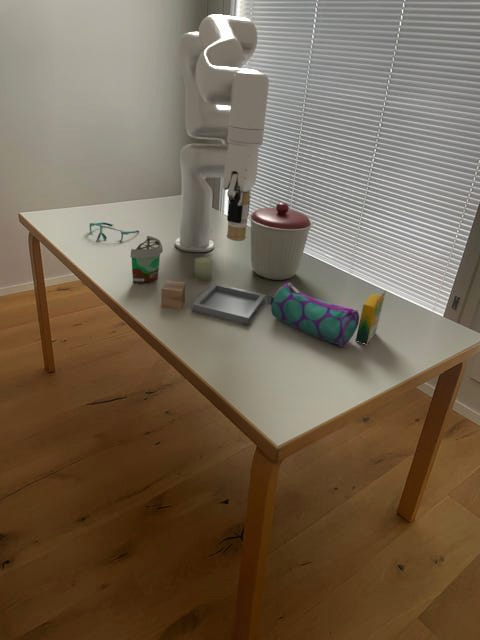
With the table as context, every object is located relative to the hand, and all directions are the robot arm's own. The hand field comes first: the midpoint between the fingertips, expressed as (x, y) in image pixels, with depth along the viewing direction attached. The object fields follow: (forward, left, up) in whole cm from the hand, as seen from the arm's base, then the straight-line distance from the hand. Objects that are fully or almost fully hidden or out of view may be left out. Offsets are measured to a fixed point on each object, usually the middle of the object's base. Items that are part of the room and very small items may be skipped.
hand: (237, 218), depth 115 cm
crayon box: (-1, +34, -23) cm, 41 cm away
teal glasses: (-31, -52, -23) cm, 65 cm away
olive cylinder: (-13, -13, -23) cm, 30 cm away
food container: (-5, -25, -23) cm, 34 cm away
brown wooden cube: (+6, -13, -23) cm, 27 cm away
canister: (-27, +4, -23) cm, 36 cm away
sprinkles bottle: (0, 0, -5) cm, 5 cm away
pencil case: (+2, +21, -23) cm, 32 cm away
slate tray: (0, 0, -23) cm, 23 cm away
